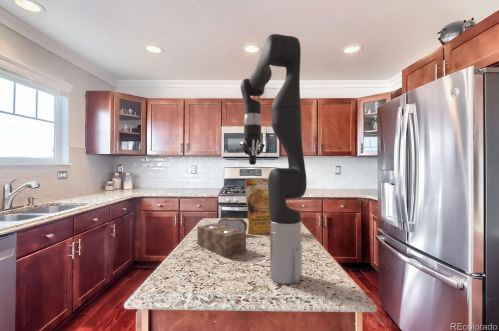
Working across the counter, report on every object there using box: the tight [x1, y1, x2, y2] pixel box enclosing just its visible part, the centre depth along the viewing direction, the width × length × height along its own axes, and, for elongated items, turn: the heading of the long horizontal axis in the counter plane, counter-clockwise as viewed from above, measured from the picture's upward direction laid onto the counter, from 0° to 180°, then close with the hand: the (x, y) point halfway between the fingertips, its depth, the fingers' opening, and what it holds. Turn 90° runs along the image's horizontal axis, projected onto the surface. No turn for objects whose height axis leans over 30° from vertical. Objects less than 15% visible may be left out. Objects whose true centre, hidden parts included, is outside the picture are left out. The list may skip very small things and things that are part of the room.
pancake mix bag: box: [244, 178, 270, 235], centre depth 131 cm, size 7×19×28 cm, turn 103°
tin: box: [217, 217, 248, 232], centre depth 126 cm, size 15×3×8 cm, turn 84°
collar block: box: [196, 222, 247, 259], centre depth 105 cm, size 21×10×8 cm, turn 41°
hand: (252, 164), depth 110 cm, fingers closed
